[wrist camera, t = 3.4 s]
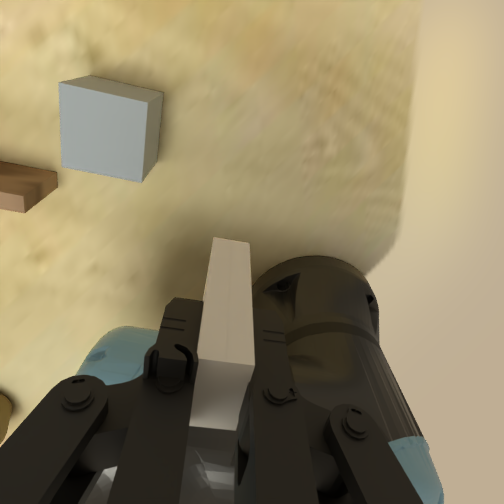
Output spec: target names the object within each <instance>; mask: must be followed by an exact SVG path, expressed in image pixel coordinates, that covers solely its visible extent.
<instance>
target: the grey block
mask: <svg viewBox="0 0 504 504" xmlns="http://www.w3.org/2000/svg"><path fill="white" fill-rule="evenodd" d="M162 103H163V92H159V91H155V90H151V89H146V88H142V87H138V86H133V85H129V84H125V83H120V82H116V81H112V80H108V79H103V78H99V77H95V76H85V77H81V78H76V79H72V80H67V81H62V82H59V108H60V134H61V160H62V167H64V168H69V169H74V170H79V171H84V172H89V173H94V174H100V175H105V176H110V177H115V178H120V179H125V180H130V181H135V182H140V183H142V182H143V180H144V179H145V178H146V176H147V175H148V173H149V172H150V171H151V169H152V168H153V166H154V165H155V163H156V162H157V156H158V146H159V135H160V124H161V114H162Z"/></svg>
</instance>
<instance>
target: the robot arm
mask: <svg viewBox="0 0 504 504" xmlns="http://www.w3.org/2000/svg"><path fill="white" fill-rule="evenodd" d="M0 504H444V494H443V488H442V485H441V482H440V480H439V477H438V475H437V472H436V469H435V467H434V464H433V462H432V459H431V457H430V454H429V446H428V444H427V442H426V440H425V439H424V437H423V435H422V433H421V431H420V429H419V426H418V424H417V422H416V420H415V418H414V416H413V414H412V412H411V410H410V408H409V406H408V404H407V402H406V400H405V398H404V395H403V393H402V392H401V389H400V387H399V385H398V383H397V381H396V379H395V377H394V375H393V373H392V371H391V369H390V367H389V364H388V363H387V360H386V358H385V356H384V354H383V352H382V350H381V348H380V345H379V309H378V304H377V300H376V297H375V295H374V293H373V291H372V289H371V287H370V285H369V283H368V281H367V280H366V278H365V277H364V276H363V275H362V274H361V273H360V272H359V271H358V270H357V269H356V268H354V267H353V266H351V265H349V264H348V263H345V262H343V261H341V260H338V259H334V258H330V257H323V256H308V257H300V258H296V259H292V260H289V261H286V262H283V263H281V264H279V265H277V266H275V267H273V268H272V269H270V270H269V271H267V272H266V273H265V274H264V275H262V276H261V277H260V278H259V279H258V280H257V282H256V283H255V284H254V285H253V287H251V265H250V243H247V242H241V241H235V240H229V239H223V238H217V237H213V243H212V249H211V255H210V260H209V266H208V272H207V278H206V283H205V289H204V296H203V301H197V300H190V299H183V298H176V297H175V298H174V299H173V300H172V301H171V302H170V303H169V304H168V305H167V306H166V308H165V312H164V315H163V319H162V322H161V326H160V330H159V331H158V330H151V329H144V328H138V327H130V326H124V327H119V328H116V329H113V330H112V331H110V332H108V333H107V334H105V335H104V336H103V337H102V338H101V339H100V340H99V341H98V342H97V343H96V345H95V346H94V347H93V348H92V350H91V351H90V352H89V354H88V355H87V357H86V359H85V360H84V362H83V363H82V365H81V367H80V368H79V370H78V372H77V374H76V375H75V376H72V377H69V378H67V379H65V380H62V381H61V382H59V383H58V384H57V385H56V386H55V387H53V388H52V389H51V390H50V392H49V393H48V394H47V395H46V396H45V397H44V398H43V399H42V401H41V402H40V403H39V404H38V405H37V406H36V407H35V409H34V410H33V411H32V412H31V413H30V414H29V415H28V416H27V418H26V419H25V420H24V421H23V422H22V423H21V424H20V426H19V427H18V428H17V429H16V430H15V431H14V432H13V433H12V435H11V436H10V437H9V438H8V439H7V440H6V441H5V443H4V444H3V445H2V446H1V447H0Z"/></svg>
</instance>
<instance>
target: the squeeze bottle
mask: <svg viewBox="0 0 504 504" xmlns="http://www.w3.org/2000/svg"><path fill="white" fill-rule="evenodd" d="M11 411H12V405H11V402H10V401H9V400H8V399H7V398H6V397H5V396H4V395H2V394H0V444H1V442H2V441H3V440H4V438H5V436H6V433H7V429H8V425H9V420H10V416H11Z"/></svg>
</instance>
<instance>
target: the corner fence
mask: <svg viewBox="0 0 504 504" xmlns="http://www.w3.org/2000/svg"><path fill="white" fill-rule="evenodd" d="M56 188H57V172H52V171H47V170H42V169H37V168H32V167H27V166H22V165H17V164H12V163H7V162H1V161H0V209H4V210H10V211H15V212H21V213H26V212H27V211H28V210H30V209H31V208H32V207H33V206H35V205H36V204H37V203H38V202H40V201H41V200H42V199H43V198H45V197H46V196H47V195H48V194H50V193H51V192H52V191H54V190H55V189H56Z"/></svg>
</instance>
